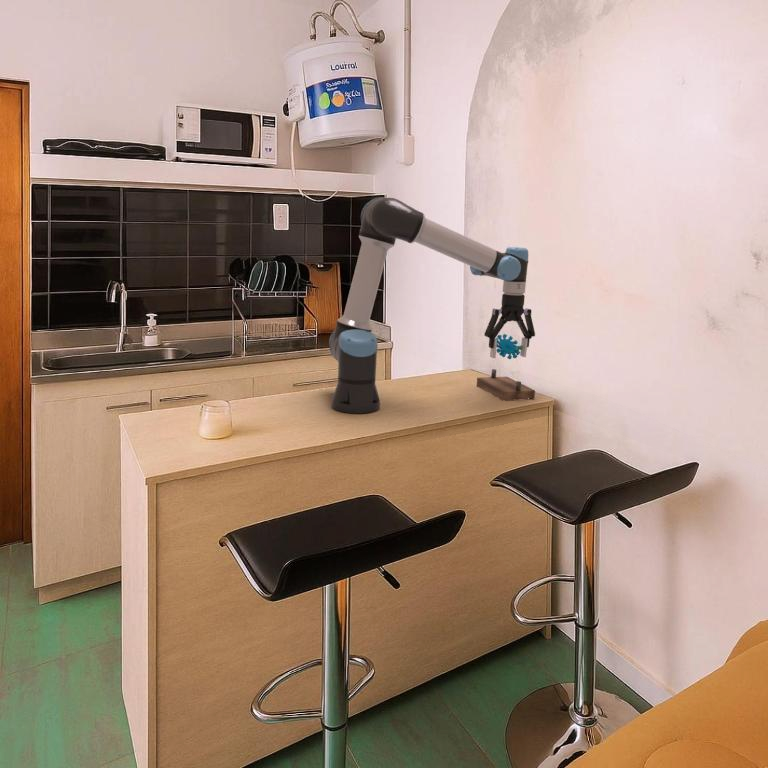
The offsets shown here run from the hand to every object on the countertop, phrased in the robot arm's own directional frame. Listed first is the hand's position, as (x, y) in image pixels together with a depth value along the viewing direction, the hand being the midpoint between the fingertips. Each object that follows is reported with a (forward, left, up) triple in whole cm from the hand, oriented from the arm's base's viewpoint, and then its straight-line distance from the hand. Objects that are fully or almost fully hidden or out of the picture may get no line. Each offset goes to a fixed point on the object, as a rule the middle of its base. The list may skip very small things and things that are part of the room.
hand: (508, 356), depth 233 cm
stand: (0, 0, -13) cm, 13 cm away
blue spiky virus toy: (0, 0, 0) cm, 1 cm away
